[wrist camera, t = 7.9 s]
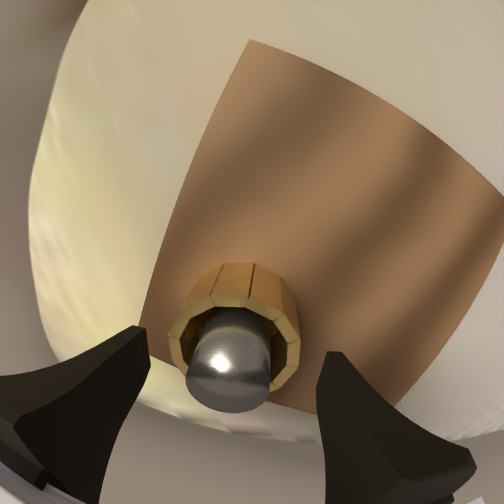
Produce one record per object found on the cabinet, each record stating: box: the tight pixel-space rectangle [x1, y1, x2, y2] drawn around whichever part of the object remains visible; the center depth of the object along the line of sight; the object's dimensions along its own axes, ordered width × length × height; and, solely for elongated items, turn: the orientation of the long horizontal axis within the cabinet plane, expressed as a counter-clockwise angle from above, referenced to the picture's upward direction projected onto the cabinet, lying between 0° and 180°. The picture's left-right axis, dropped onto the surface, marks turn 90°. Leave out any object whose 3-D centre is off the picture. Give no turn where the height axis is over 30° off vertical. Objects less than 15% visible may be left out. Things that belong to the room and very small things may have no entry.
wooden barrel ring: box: [168, 262, 301, 392], centre depth 13 cm, size 5×5×4 cm
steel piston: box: [185, 306, 271, 413], centre depth 12 cm, size 3×3×6 cm
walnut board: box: [138, 40, 504, 414], centre depth 14 cm, size 18×18×1 cm
